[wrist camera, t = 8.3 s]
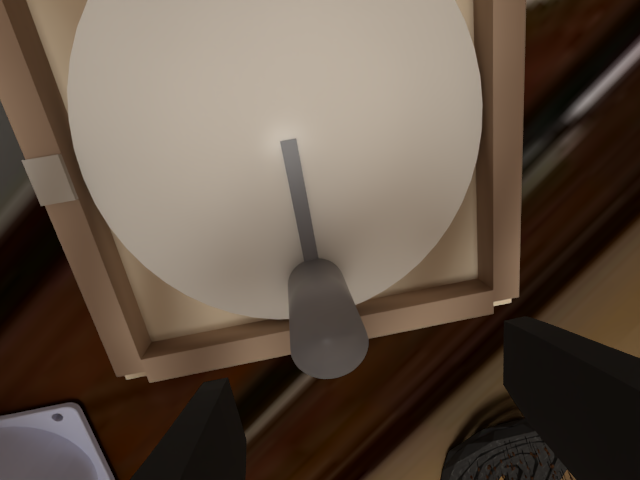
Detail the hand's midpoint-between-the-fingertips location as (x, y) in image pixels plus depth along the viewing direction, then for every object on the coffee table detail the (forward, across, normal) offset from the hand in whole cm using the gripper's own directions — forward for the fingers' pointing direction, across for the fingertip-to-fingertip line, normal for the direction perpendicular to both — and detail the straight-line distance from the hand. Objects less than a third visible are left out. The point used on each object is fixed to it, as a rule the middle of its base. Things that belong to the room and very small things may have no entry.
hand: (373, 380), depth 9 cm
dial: (+7, +1, -6) cm, 9 cm away
